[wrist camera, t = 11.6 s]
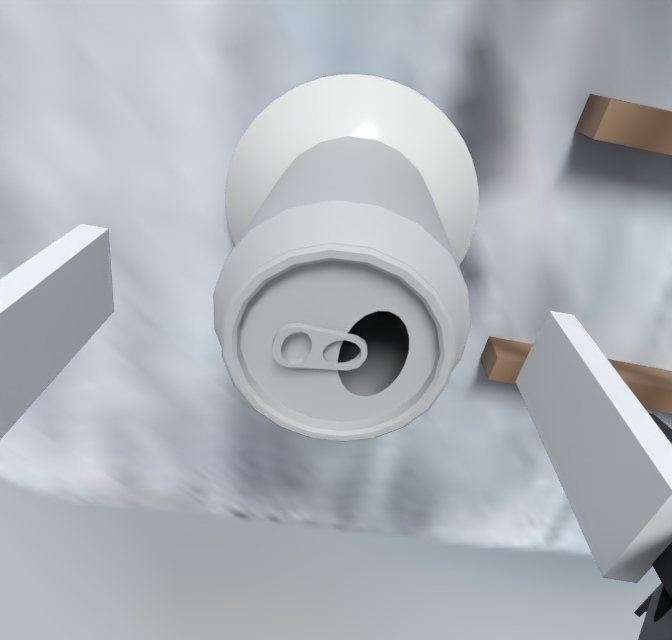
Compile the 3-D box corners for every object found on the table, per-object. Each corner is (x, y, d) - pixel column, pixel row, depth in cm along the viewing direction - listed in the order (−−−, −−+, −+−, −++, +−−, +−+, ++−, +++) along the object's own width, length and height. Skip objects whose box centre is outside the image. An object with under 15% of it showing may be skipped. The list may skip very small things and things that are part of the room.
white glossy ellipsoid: (222, 293, 26) (218, 300, 26) (239, 46, 20) (234, 47, 20) (434, 334, 27) (436, 341, 26) (513, 104, 21) (518, 107, 20)
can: (401, 302, 25) (422, 486, 15) (261, 264, 24) (180, 429, 14) (456, 159, 21) (537, 272, 11) (291, 111, 21) (212, 182, 10)
